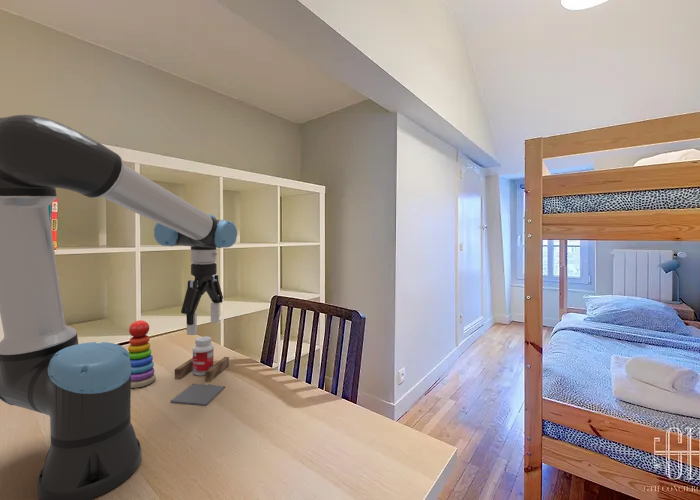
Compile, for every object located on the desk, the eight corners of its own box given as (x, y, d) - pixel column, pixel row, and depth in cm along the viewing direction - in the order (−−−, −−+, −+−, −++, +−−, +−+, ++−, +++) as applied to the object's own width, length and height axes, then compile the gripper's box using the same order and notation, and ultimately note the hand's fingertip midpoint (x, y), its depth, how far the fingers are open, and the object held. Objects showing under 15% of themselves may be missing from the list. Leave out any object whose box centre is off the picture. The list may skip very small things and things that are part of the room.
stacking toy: (161, 377, 100) (161, 318, 99) (142, 390, 92) (142, 325, 91) (138, 375, 100) (137, 316, 99) (117, 388, 92) (116, 323, 92)
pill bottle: (188, 374, 103) (188, 340, 102) (202, 366, 109) (203, 334, 108) (203, 377, 101) (203, 342, 100) (217, 369, 106) (217, 337, 106)
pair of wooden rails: (210, 381, 98) (210, 371, 98) (174, 378, 99) (174, 369, 99) (228, 365, 110) (228, 357, 110) (197, 363, 111) (197, 354, 111)
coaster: (206, 405, 84) (206, 403, 84) (170, 402, 85) (170, 400, 85) (224, 387, 94) (224, 386, 94) (192, 385, 95) (192, 383, 95)
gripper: (192, 267, 90) (192, 341, 91) (233, 259, 115) (233, 317, 116) (166, 266, 91) (167, 340, 92) (213, 258, 116) (213, 316, 117)
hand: (204, 327), depth 104 cm, fingers open, 13 cm apart
